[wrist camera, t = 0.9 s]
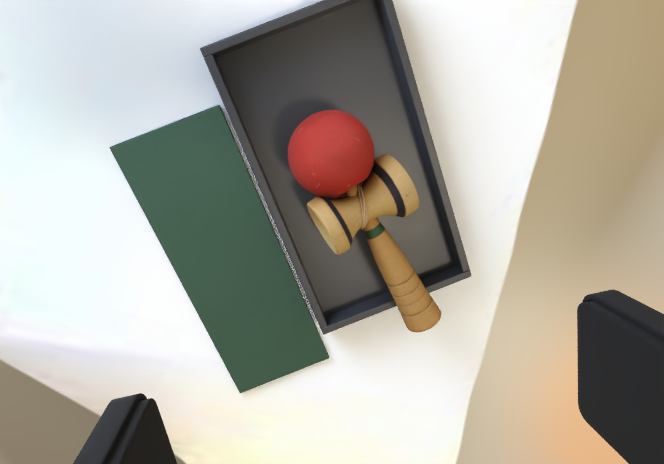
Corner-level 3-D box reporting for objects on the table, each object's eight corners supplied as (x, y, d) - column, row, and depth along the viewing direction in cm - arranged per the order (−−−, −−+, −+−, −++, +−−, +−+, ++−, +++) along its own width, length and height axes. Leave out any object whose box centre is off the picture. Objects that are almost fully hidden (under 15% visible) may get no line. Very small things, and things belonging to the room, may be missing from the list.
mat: (110, 147, 31) (109, 147, 30) (219, 105, 31) (218, 105, 31) (240, 391, 38) (240, 393, 37) (328, 356, 38) (329, 358, 37)
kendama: (459, 276, 36) (359, 82, 30) (483, 318, 30) (365, 87, 24) (379, 314, 38) (269, 136, 32) (387, 361, 32) (253, 153, 26)
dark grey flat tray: (205, 52, 30) (199, 48, 28) (378, -15, 30) (385, -24, 28) (321, 322, 37) (323, 335, 35) (461, 267, 37) (471, 276, 35)
